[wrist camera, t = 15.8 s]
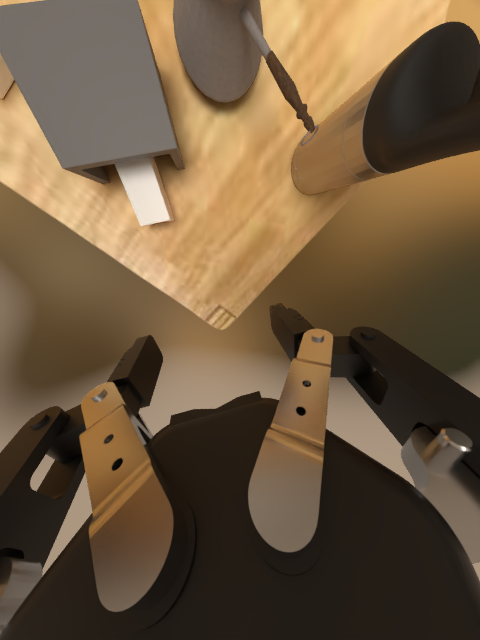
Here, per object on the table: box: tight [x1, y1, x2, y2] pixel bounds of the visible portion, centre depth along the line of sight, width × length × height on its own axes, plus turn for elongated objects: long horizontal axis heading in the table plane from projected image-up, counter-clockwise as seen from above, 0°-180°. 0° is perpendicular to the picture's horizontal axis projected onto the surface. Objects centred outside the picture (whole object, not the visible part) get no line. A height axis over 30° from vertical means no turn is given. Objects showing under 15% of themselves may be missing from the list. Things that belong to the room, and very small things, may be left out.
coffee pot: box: [173, 0, 319, 146], centre depth 21 cm, size 21×12×15 cm, turn 36°
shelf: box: [0, 0, 185, 184], centre depth 23 cm, size 11×14×10 cm
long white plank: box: [115, 157, 174, 226], centre depth 27 cm, size 16×5×5 cm, turn 11°
